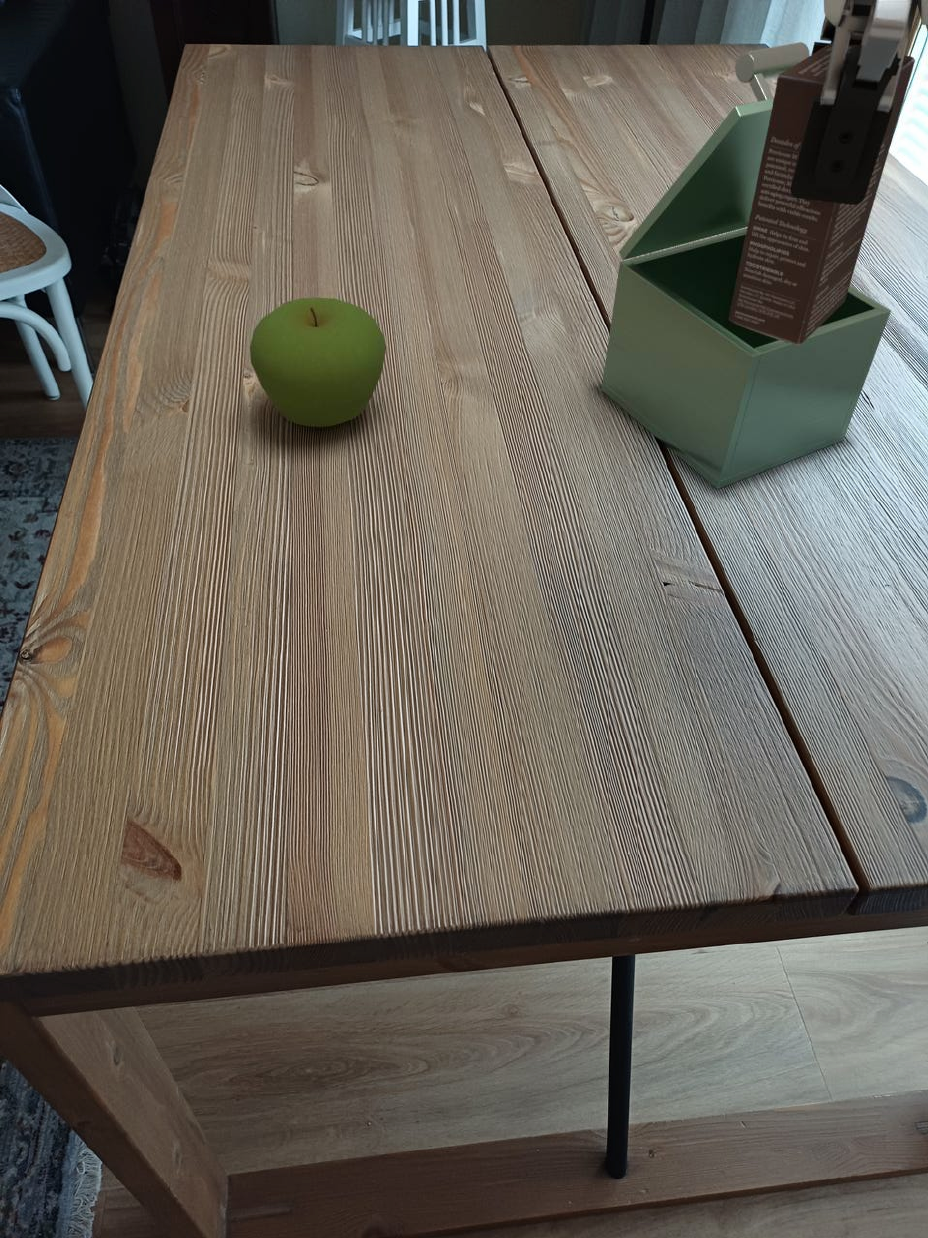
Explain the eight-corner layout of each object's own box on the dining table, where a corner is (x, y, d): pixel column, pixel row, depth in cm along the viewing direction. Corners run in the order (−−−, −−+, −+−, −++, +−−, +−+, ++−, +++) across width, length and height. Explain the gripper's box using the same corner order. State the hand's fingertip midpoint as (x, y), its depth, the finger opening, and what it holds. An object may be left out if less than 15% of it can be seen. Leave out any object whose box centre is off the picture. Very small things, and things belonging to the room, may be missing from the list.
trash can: (843, 440, 81) (891, 310, 73) (716, 489, 76) (752, 356, 68) (721, 351, 90) (751, 226, 82) (601, 390, 85) (619, 261, 77)
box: (768, 279, 54) (832, 36, 46) (845, 305, 53) (927, 57, 44) (717, 321, 51) (775, 68, 42) (798, 351, 49) (876, 93, 40)
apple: (298, 470, 77) (284, 359, 70) (237, 407, 82) (218, 297, 75) (413, 425, 81) (411, 315, 74) (347, 367, 87) (339, 261, 80)
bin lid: (893, 83, 66) (859, 14, 67) (740, 116, 61) (704, 41, 62) (754, 225, 81) (727, 168, 82) (622, 260, 77) (594, 199, 77)
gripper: (1151, -358, 27) (919, 259, 40) (1052, -370, 39) (897, 110, 52) (870, -368, 28) (733, 234, 41) (856, -377, 40) (753, 94, 53)
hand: (825, 162), depth 46 cm, fingers closed on box, 7 cm apart
